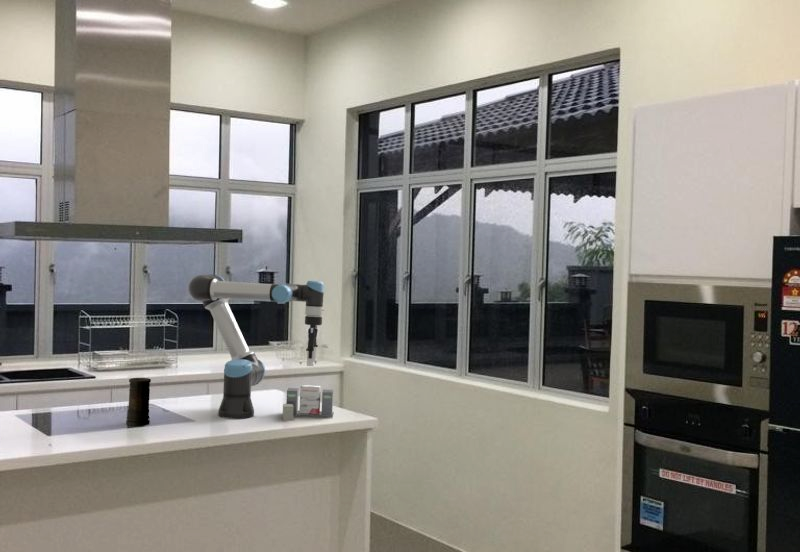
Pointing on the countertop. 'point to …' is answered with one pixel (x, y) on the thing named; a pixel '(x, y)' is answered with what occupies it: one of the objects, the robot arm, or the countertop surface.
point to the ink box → (310, 399)
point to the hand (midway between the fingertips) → (311, 363)
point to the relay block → (288, 411)
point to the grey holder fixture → (326, 412)
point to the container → (139, 402)
